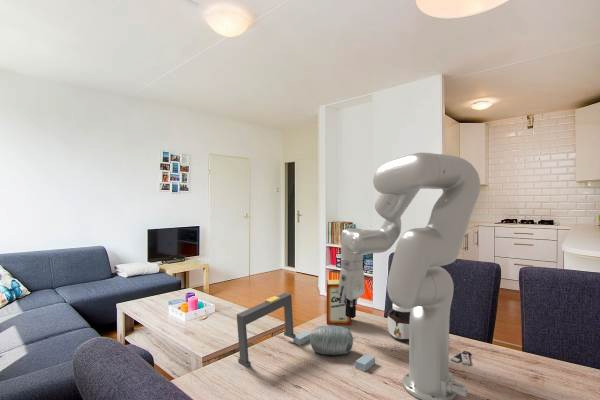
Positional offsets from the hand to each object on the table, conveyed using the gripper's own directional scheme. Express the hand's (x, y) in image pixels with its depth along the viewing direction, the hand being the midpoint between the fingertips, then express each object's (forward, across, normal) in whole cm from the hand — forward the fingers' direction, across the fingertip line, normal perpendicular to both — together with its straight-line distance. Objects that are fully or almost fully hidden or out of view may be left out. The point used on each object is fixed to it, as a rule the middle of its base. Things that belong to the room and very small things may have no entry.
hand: (350, 316), depth 110 cm
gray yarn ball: (+8, -12, -1) cm, 15 cm away
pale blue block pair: (+8, -12, -1) cm, 15 cm away
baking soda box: (+8, +11, +12) cm, 18 cm away
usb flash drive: (+8, +12, -34) cm, 37 cm away
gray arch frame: (+7, -26, +14) cm, 30 cm away
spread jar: (+8, +15, -15) cm, 22 cm away
